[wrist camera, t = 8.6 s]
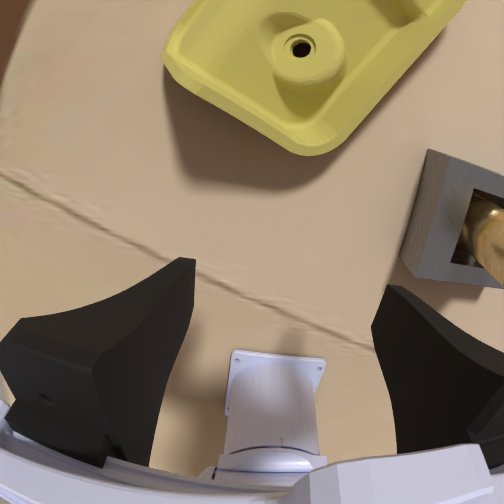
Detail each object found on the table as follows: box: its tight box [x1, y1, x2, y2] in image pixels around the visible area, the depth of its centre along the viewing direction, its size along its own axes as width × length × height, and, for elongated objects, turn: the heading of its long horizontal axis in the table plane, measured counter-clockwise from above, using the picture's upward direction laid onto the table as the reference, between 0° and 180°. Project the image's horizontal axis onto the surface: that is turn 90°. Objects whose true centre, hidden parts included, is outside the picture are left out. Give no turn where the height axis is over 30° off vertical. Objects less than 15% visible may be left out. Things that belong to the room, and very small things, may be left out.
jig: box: [399, 149, 504, 289], centre depth 18 cm, size 8×10×3 cm
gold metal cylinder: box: [457, 192, 504, 287], centre depth 17 cm, size 4×4×7 cm
